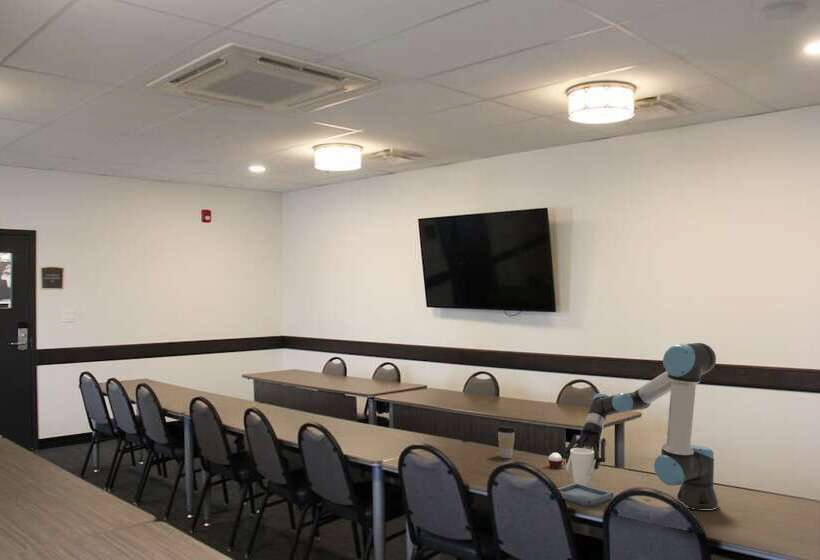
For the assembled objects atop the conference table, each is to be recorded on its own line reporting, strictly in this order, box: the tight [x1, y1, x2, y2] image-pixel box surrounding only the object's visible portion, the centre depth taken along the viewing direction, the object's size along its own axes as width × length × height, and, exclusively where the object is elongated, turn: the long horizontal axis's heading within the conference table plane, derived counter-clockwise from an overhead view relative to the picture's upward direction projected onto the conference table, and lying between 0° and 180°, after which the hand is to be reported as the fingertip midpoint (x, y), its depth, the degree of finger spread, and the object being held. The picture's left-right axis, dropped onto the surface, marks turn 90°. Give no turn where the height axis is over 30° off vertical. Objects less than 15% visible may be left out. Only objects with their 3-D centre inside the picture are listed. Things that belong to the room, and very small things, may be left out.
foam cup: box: [570, 447, 595, 486], centre depth 278 cm, size 10×9×13 cm
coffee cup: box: [496, 424, 517, 459], centre depth 342 cm, size 9×9×15 cm
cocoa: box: [544, 439, 566, 469], centre depth 324 cm, size 10×6×12 cm, turn 40°
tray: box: [557, 482, 614, 508], centre depth 278 cm, size 18×16×2 cm
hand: (579, 473), depth 276 cm, fingers closed on foam cup, 9 cm apart
